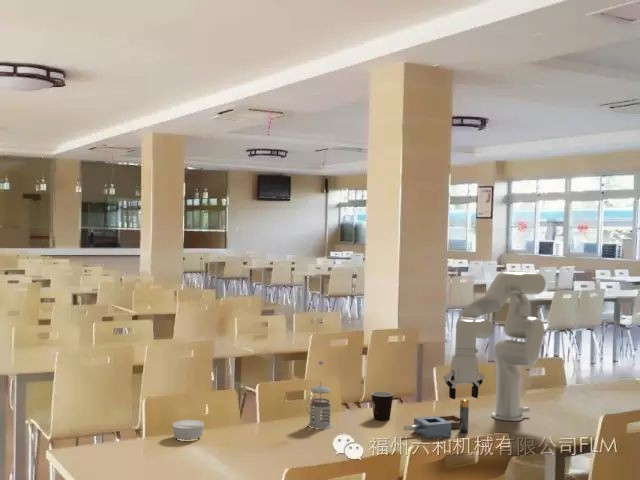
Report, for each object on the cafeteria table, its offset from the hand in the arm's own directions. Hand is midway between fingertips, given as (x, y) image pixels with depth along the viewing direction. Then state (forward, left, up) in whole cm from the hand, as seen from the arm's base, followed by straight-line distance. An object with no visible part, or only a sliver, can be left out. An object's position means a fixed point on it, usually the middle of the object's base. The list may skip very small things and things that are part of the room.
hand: (463, 397), depth 267 cm
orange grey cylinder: (-1, 0, -13) cm, 13 cm away
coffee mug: (+20, -27, -13) cm, 36 cm away
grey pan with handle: (+16, -1, -13) cm, 20 cm away
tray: (0, -10, -13) cm, 16 cm away
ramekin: (+99, -22, -13) cm, 103 cm away
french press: (+49, -23, -13) cm, 56 cm away
